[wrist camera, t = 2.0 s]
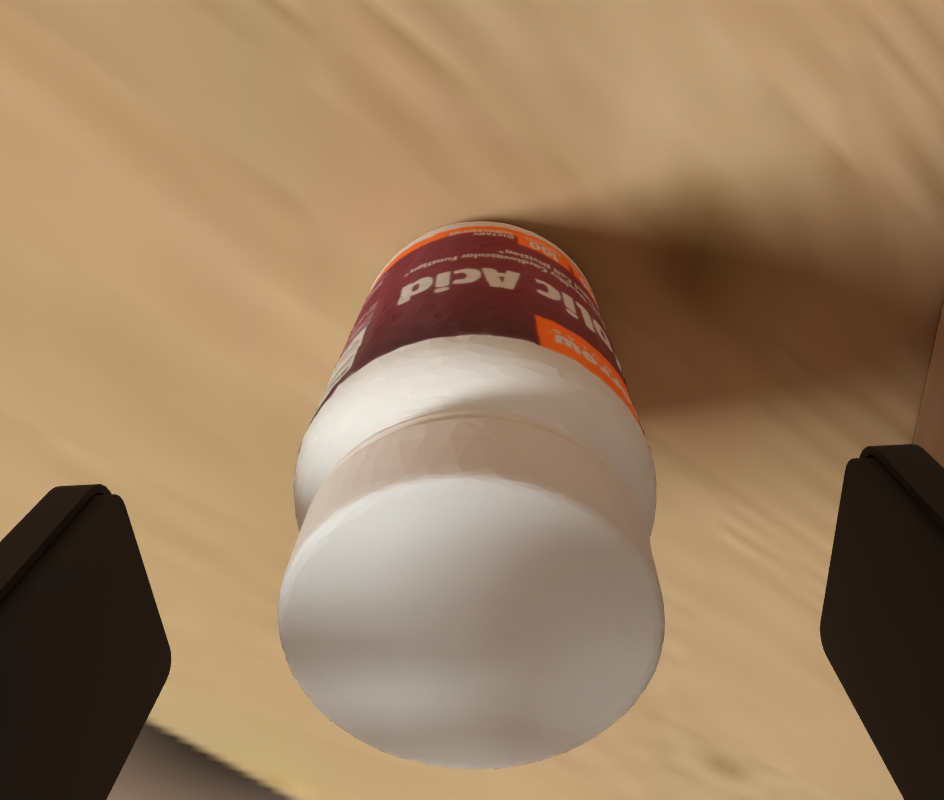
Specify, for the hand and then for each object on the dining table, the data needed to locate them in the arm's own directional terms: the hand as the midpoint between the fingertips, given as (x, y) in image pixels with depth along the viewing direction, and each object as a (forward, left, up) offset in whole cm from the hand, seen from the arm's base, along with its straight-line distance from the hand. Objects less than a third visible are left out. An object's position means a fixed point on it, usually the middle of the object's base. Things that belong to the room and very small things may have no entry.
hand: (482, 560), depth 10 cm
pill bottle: (-1, 0, -6) cm, 6 cm away
